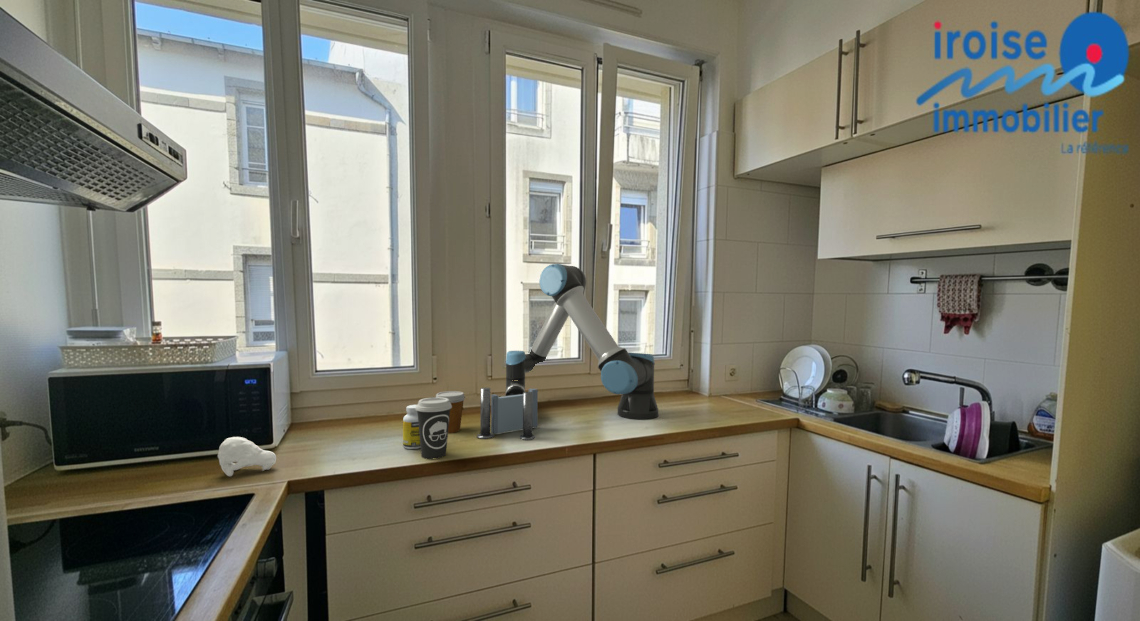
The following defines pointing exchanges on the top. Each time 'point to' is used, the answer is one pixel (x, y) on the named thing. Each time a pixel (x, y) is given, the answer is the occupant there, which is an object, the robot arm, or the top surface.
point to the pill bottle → (411, 428)
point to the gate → (510, 412)
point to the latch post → (527, 416)
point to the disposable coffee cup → (454, 408)
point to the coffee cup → (433, 426)
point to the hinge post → (485, 415)
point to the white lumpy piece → (243, 455)
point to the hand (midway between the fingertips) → (515, 410)
